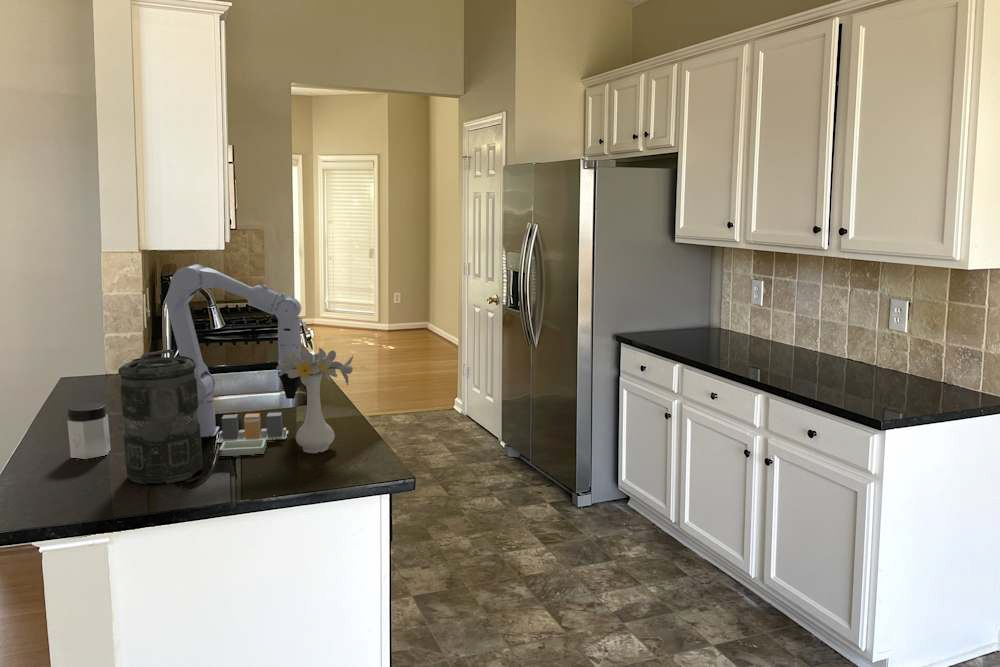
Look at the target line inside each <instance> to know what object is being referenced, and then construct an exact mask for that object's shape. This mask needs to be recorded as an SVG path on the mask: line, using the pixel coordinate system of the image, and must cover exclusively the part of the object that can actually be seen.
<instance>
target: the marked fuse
mask: <svg viewBox="0 0 1000 667" xmlns="http://www.w3.org/2000/svg"><path fill="white" fill-rule="evenodd" d="M243 423H244V430H245V438H260V435H261V430H262V424H261V413H260V412H259V413H246V414H245V415H244V418H243Z"/></svg>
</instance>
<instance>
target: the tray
mask: <svg viewBox="0 0 1000 667" xmlns="http://www.w3.org/2000/svg"><path fill="white" fill-rule="evenodd" d="M267 442H268V441H267ZM267 442H266V439H257V440H237V441H224V442H223V443H222V444H220V447H219V449H218V455H219V456H233V457H240V456H239V455H251V456H255V455H254V454H265V452H266V449H267V447H266V445H267ZM267 446H268V445H267ZM265 448H266V449H265ZM264 451H265V452H264ZM219 456H218V457H219Z"/></svg>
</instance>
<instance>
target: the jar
mask: <svg viewBox="0 0 1000 667" xmlns="http://www.w3.org/2000/svg"><path fill="white" fill-rule="evenodd" d="M67 417H68V420H67V421H66V422H67V429H68V441H69V452H70V459H71V458H81V459H88V458H94V457H99V456H105V455H107V456H108V455H109V453H110V452H111V451H110V450H112V449H111V438H110V437H111V436H110V426H109V414H107V407H106V404H105V403H102V402H86V403H80V404H79V403H78V404H75V405H72V406H69V407H68V408H67ZM109 451H110V452H109ZM105 457H106V456H105Z"/></svg>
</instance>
